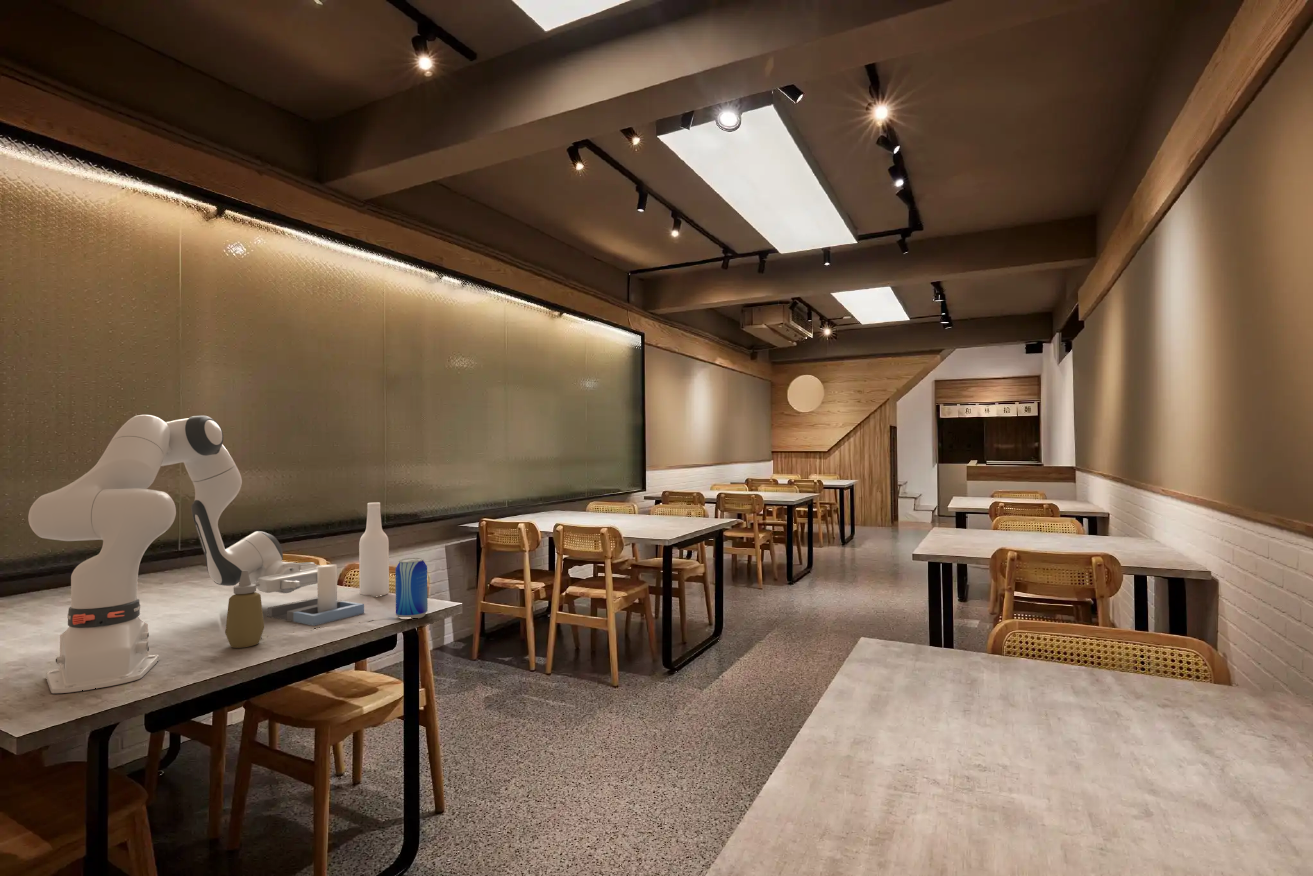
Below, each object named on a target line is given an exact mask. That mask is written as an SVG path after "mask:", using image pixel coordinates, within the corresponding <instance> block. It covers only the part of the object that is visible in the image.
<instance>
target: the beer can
mask: <svg viewBox="0 0 1313 876" xmlns="http://www.w3.org/2000/svg"><path fill="white" fill-rule="evenodd" d="M394 571H395V572H394V573H395V615H396V616H397V617H411V618H418V619H422V618H424V617H425V616H426V614H427V612H428V610H429V609H428V608H429V607H428V565H427V564H426V562H425V559H424V557H408V558H406V557H405V558H402V559H399V560H398V564H397V565H396V567H395V569H394Z"/></svg>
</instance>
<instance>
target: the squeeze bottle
mask: <svg viewBox="0 0 1313 876" xmlns="http://www.w3.org/2000/svg"><path fill="white" fill-rule="evenodd" d="M262 603H263V602H262V596H261V594H260V593H258V592H257V588H256V584H251V581H250V577H249V573H248V570H243V571H242V573H241V577H240V582H239V583H238V584H236V585H234V586H233V595H231V596H229V598H228V605H227V613H226V623H225V631H224V633H225V636H226V638H227V641H228V643H229V645H230V647H231V648H234V649H235V648H236V649H240V648H241V649H242V648H249V647H253V646H255V645H258V644H259V643H260V641H261V637H262V635H263V632H264V629H265V622H264V613H263V605H262Z"/></svg>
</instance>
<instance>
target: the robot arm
mask: <svg viewBox="0 0 1313 876" xmlns="http://www.w3.org/2000/svg"><path fill="white" fill-rule="evenodd" d="M223 443H224V432H223V430H222V427H221V426H220V424H219V422H217V421H216V420H215V419H214V418H212V417H210V416H207V415H193V416H190V417H189V418H181V419H175V420H171V421H164V420H163V419H161V418H160V417H158V416H155V415H152V414H140V415H134V416H133V417H131V418H129V419H128V420H127V421H126V422H125V423H124V424H123V425H122V426H121V427H120V428H119V429H118V430H117V431H116V433H115V434H114V436H113V437H112V439H111V440H110V442H109V443H108V445H107V447H106V449H105V450H104V452H103V453H102V455H101V456H100V458H99V460H98V461H97V463H96V464H95V465H94V466H93V467H92V468H91V469H90V470H88V471H87V472H86V473H85V474H83V475H82V476H80V477H79V478H77V479H76V480H74V481H73V482H71V483H69V484H67V485H65V486H63V487H61V488H58V489H56V490H53V491H50V492H48V493H45V494H42V495H40V496H39V497H37V499H36V500H35V501H34V502H33V503H32V504H31V506H30V508H29V511H28V518H27V519H28V525H29V526H30V529H31V530H32V532H34V534H35V535H36V536H37V537H39V538H42V539H47V540H55V541H63V542H75V541H77V542H79V541H98V540H101V541H102V547H101V549H100V552H99V553H97V555H93V556H92V557H90V558H86V560H83V561H82V562H81V563H79V564H78V565H77V566H75V568H74V569H73V571H72V573H71V576H70V607H68V613H67V626H68V628H67V629H66V630H65V631H63V632H62V633H61V634H60V635H59V656H57V657H56V658H55V663H56V665H58V664H59V668H55V669H52V670H49V671H46V673H45V679H47V680H46V682H47V685H48V687H49V690H50V692H51V694H64V693H74V692H82V690H83V691H89V690H94V689H95V688H96V689H100V688H106V687H112V686H117V685H122V684H126V683H129V682H134V681H137V680H140V679H142V678H143V677H144V676H145V675H146V674H147V673H148V672H149V671H150V670H151V669H152V668H153V667H154V666H155V664H157V663H158V662H159V660H160V656H159V654H150V651H149V650H150V645H149V637H150V636H149V635H150V633H149V624H148V623H147V622H146V621H144V620H142V619H141V618H140V614H141V604H140V599H139V598H138V581H139V580H138V578H139V568H140V564H141V561H142V558H143V556H144V554H145V552H146V551H147V549H148V548H149V547H150V545H151V544H152V543H153V542H154V541H155V540H156V539H158V537H160V536H161V535H163V534H165V533H166V531H168V530H169V529H170V528H171V526H172V525H173V523H174V521H175V519H176V515H177V509H176V505H175V504H176V503H175V502H174V500H173V498H172V496H170V494H169V493H167V492H166V491H161V490H156V489H149V487H150V486H151V485H152V484H153V483H154V481H155V479H156V477H157V475H158V474H159V471H160V469H161V467H165V466H170V465H176V464H180V463H183V465H184V466H185V470H186V472H187V473H188V474H187V475H188V477H189V478H190V481H191V482H192V485H193V487H194V501H192V504H191V505H190V508H191V509H190V510H191V515H192V520H193V523H194V526H195V530H196V533H197V536H198V539H199V542H200V546H201V548H202V551H203V555H204V558H205V564H206V569H207V573H208V575H209V577H210V579H211V580H212V582H214V584H216V585H218V586H224V587H225V586H226V587H231V586H233V587H234V586H237V585H238V584H239V582H240V577H241V573H242V571H243V570H248V573H249V577H250V581H251V584H256V590H258V591H259V592H262V593H268V594H269V593H280V594H290V593H292V592H294V591H296V590H299V589H301V588H304V587H306V586H311V585H316V584H317V585H318V578H317V567H318V566H321V564H316V563H315V562H307V561H306V562H293V561H289V562H288V561H283V560H284V555H283V553H284V552H283V549H282V545H281V543H280V541H279V540H278V539H277V537H276V536H274V535H272V534H270V533H267V532H265V531H260V530H256V531H254V532H252V533H250V534H249V535H247V536H245V537H243V538H241V539H240V540H239V541H237V542H236V543H233V544H231V545H230V546H229V547H226V548H225V544H224V541H223V539H222V536H221V535H222V534H221V533H220V528H219V525H218V524H219V519H220V517H221V515H222V513H223V511H225V509H226V508H227V507H228V506H229V505H230V503H232V502H233V501H234V499H235V498H236V497H237V496H238V494H239V492H240V491H241V488H242V485H243V484H242V483H243V479H242V475H241V473H240V470H239V468H238V466H237V465H236V462H235V461H234V459H233V457H232V456H231V455H230V452H229V451H228V449H226V447H225V446H224V444H223ZM157 661H158V662H157Z"/></svg>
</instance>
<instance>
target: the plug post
mask: <svg viewBox="0 0 1313 876" xmlns="http://www.w3.org/2000/svg"><path fill="white" fill-rule="evenodd" d="M320 565H321V564H320ZM317 578H318V583H317V597H318V613H321V612H325V611H329V610H333V609H337V600H338V591H337V590H338V565H337V564H322V565H321V566H318V567H317Z"/></svg>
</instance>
